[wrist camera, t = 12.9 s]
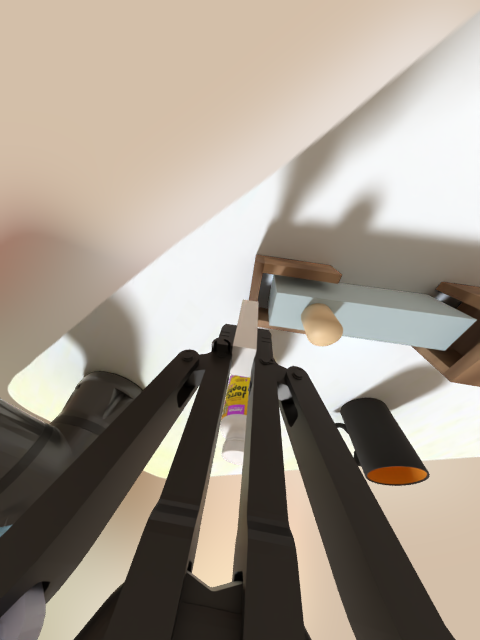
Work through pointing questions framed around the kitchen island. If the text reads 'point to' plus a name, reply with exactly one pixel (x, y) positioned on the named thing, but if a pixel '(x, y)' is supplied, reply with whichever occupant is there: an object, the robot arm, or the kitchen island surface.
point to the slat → (363, 313)
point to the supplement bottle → (235, 419)
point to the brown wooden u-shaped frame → (291, 270)
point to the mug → (381, 444)
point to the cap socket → (460, 340)
